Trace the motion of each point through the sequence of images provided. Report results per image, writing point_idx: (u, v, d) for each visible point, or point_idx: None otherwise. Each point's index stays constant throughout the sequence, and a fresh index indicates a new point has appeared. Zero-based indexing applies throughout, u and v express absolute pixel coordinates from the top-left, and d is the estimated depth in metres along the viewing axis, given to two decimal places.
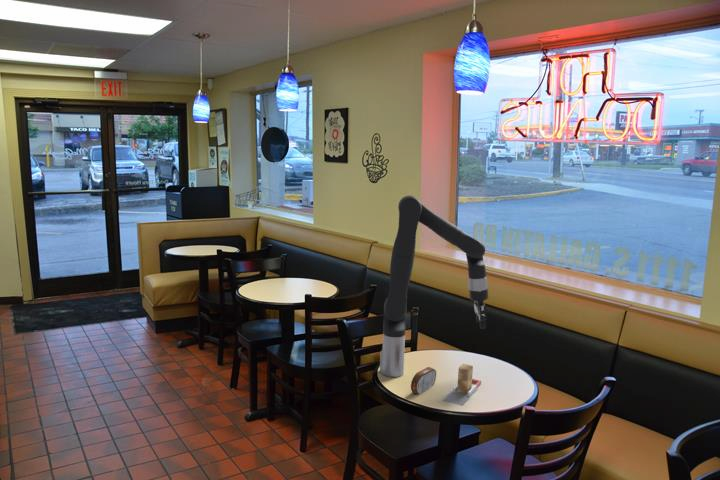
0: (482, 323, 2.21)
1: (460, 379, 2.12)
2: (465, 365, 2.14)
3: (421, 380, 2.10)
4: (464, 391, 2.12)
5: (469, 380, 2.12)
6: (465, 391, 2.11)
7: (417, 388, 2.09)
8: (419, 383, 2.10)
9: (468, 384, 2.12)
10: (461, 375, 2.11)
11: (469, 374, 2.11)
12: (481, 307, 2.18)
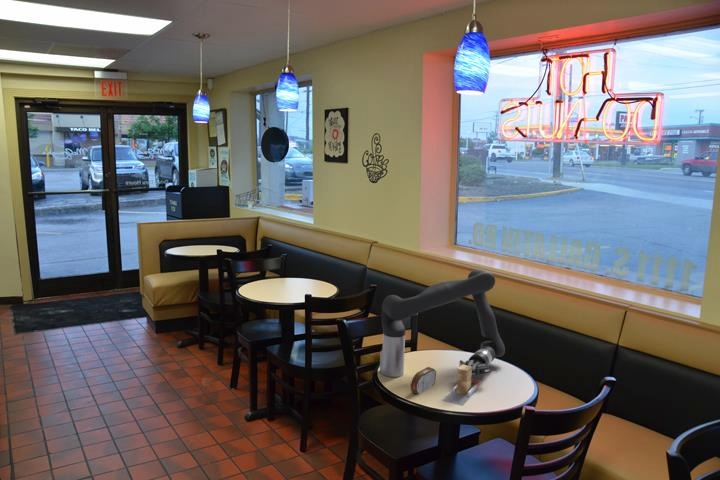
0: (472, 371, 2.16)
1: (460, 380, 2.11)
2: (464, 366, 2.13)
3: (421, 380, 2.10)
4: (463, 392, 2.11)
5: (468, 380, 2.11)
6: (464, 392, 2.10)
7: (417, 388, 2.09)
8: (419, 383, 2.10)
9: (467, 385, 2.11)
10: (461, 376, 2.10)
11: (468, 375, 2.10)
12: (488, 369, 2.19)
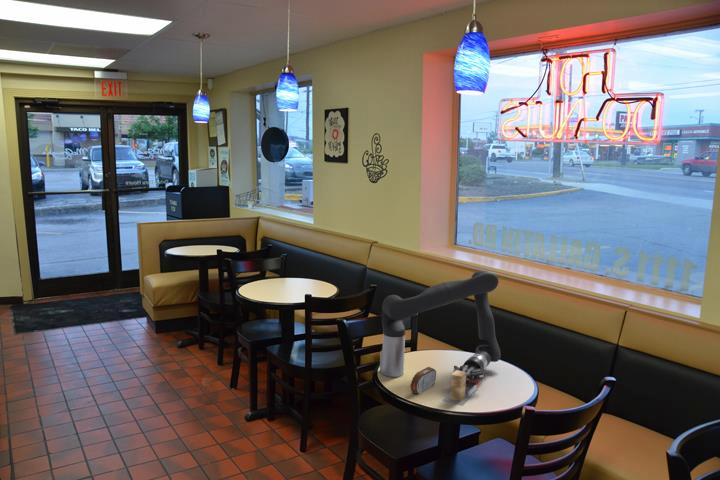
0: (466, 377, 2.10)
1: (454, 386, 2.05)
2: (458, 371, 2.07)
3: (421, 380, 2.10)
4: (457, 398, 2.05)
5: (463, 387, 2.06)
6: (458, 398, 2.05)
7: (417, 388, 2.09)
8: (419, 383, 2.10)
9: (462, 391, 2.05)
10: (454, 382, 2.05)
11: (462, 381, 2.05)
12: (482, 374, 2.13)
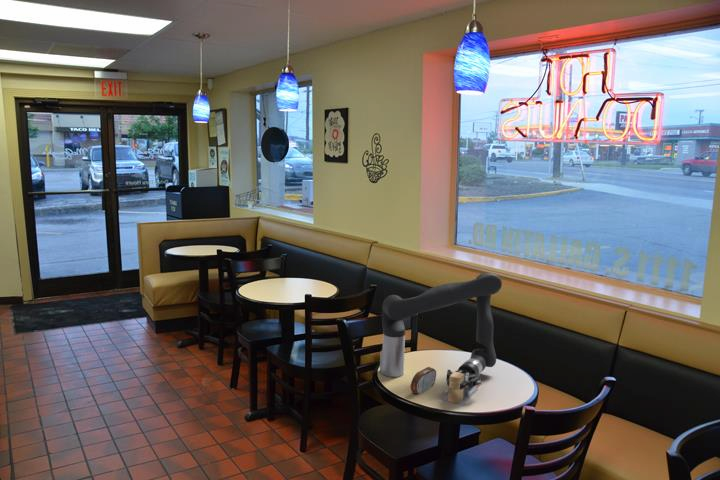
0: (465, 384, 2.04)
1: (452, 388, 2.04)
2: (456, 373, 2.06)
3: (421, 380, 2.10)
4: (455, 400, 2.03)
5: None
6: (456, 400, 2.03)
7: (417, 388, 2.09)
8: (419, 383, 2.10)
9: (460, 393, 2.04)
10: (453, 383, 2.03)
11: (460, 383, 2.03)
12: (480, 379, 2.08)
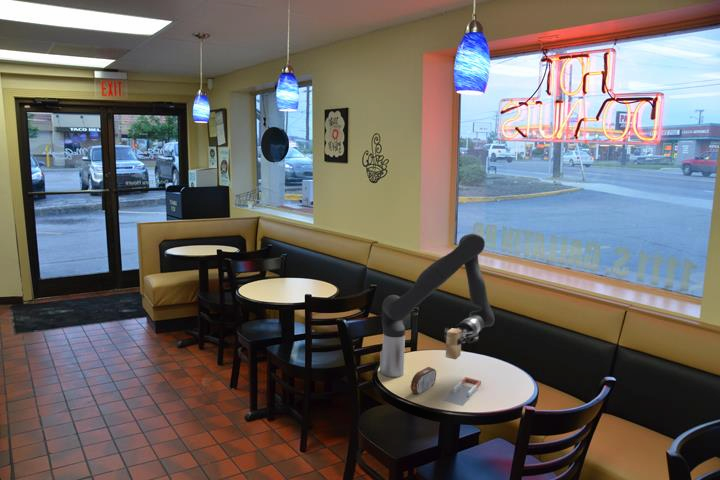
0: (463, 340, 2.02)
1: (449, 343, 2.02)
2: (454, 329, 2.04)
3: (421, 380, 2.10)
4: (453, 356, 2.02)
5: None
6: (454, 356, 2.02)
7: (417, 388, 2.09)
8: (419, 383, 2.10)
9: (457, 349, 2.02)
10: (450, 339, 2.01)
11: (458, 338, 2.01)
12: (477, 336, 2.06)
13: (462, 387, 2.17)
